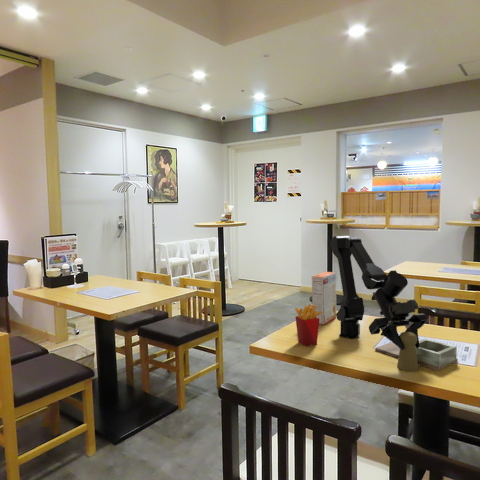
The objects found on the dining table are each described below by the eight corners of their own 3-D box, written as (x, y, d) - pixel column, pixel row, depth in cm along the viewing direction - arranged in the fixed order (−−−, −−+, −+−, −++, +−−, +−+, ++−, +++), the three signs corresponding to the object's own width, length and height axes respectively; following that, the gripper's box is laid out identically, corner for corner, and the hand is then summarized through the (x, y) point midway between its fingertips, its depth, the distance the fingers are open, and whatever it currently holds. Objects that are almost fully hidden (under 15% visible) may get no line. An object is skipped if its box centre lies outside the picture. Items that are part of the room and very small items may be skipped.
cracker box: (324, 316, 183) (324, 271, 182) (336, 317, 180) (336, 272, 178) (311, 323, 172) (311, 275, 170) (324, 325, 168) (324, 276, 167)
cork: (420, 372, 119) (421, 336, 118) (399, 371, 120) (399, 335, 119) (415, 364, 125) (416, 330, 124) (395, 363, 126) (395, 329, 125)
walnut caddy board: (375, 350, 138) (375, 336, 137) (396, 343, 144) (396, 329, 144) (437, 371, 120) (437, 354, 119) (457, 361, 126) (457, 346, 126)
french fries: (294, 342, 148) (294, 302, 147) (313, 338, 151) (313, 300, 150) (307, 349, 140) (307, 307, 139) (327, 346, 143) (327, 305, 142)
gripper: (374, 293, 122) (397, 339, 112) (424, 288, 127) (451, 332, 117) (359, 312, 130) (380, 356, 120) (407, 307, 135) (431, 349, 126)
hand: (411, 348), depth 121 cm, fingers closed on cork, 5 cm apart
